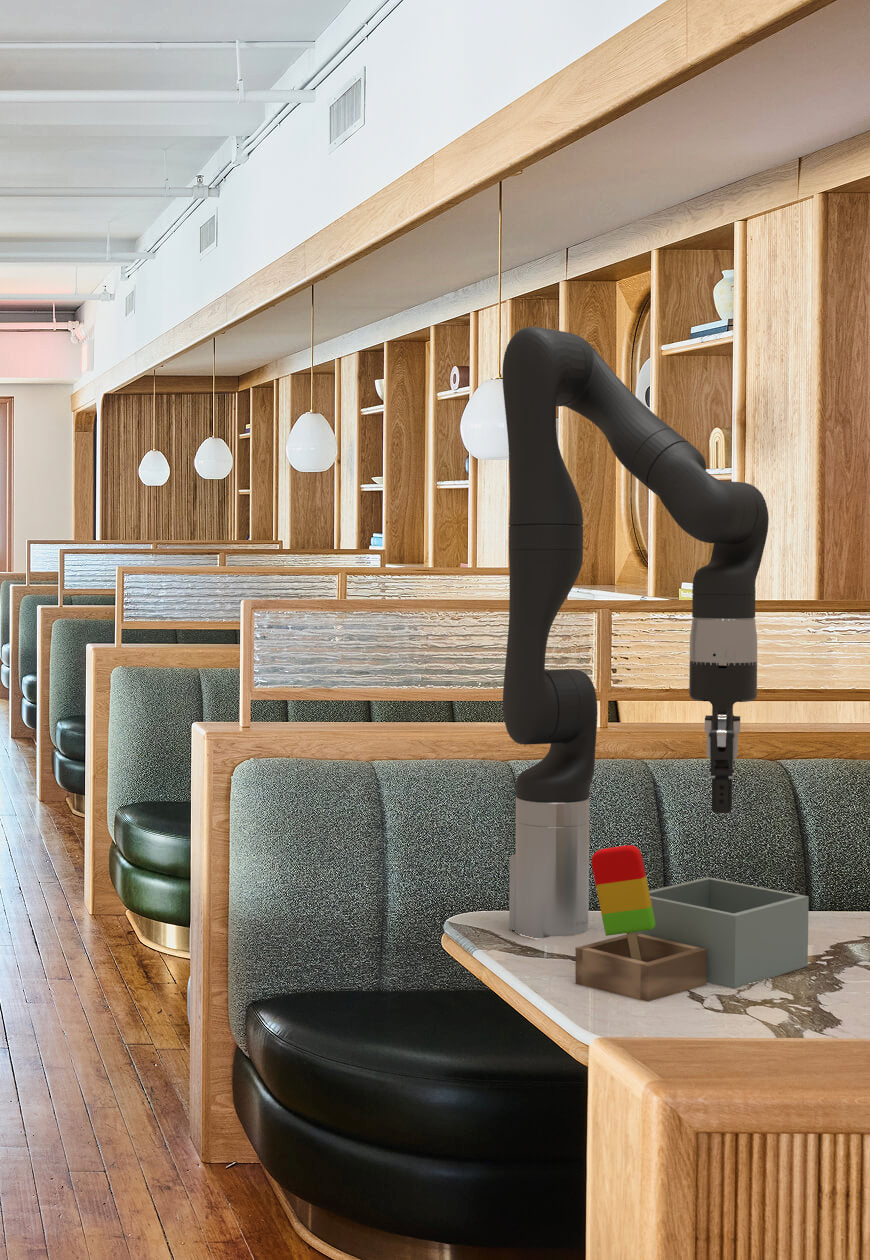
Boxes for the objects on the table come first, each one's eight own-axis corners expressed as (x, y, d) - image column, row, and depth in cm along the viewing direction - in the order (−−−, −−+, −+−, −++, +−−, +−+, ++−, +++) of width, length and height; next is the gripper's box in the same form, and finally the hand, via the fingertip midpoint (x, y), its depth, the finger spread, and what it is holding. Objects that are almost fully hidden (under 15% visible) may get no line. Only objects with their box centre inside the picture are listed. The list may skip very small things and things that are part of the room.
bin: (632, 963, 169) (633, 894, 169) (707, 942, 179) (707, 877, 178) (734, 989, 159) (735, 916, 159) (807, 966, 169) (808, 896, 168)
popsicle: (587, 852, 161) (591, 849, 163) (615, 989, 161) (618, 984, 163) (637, 845, 159) (640, 842, 161) (664, 983, 159) (667, 978, 161)
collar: (575, 984, 161) (575, 947, 161) (634, 967, 168) (634, 932, 168) (647, 1004, 154) (648, 966, 153) (706, 985, 160) (706, 949, 160)
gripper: (691, 654, 175) (690, 800, 176) (687, 661, 161) (685, 819, 162) (756, 655, 173) (755, 802, 174) (757, 662, 160) (755, 822, 160)
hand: (721, 809), depth 168 cm, fingers closed
